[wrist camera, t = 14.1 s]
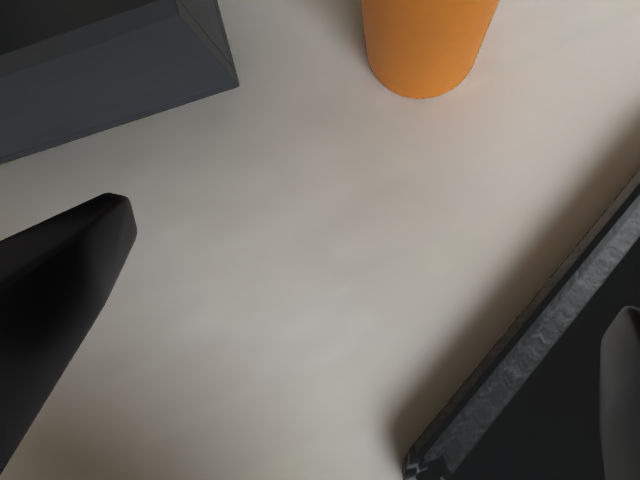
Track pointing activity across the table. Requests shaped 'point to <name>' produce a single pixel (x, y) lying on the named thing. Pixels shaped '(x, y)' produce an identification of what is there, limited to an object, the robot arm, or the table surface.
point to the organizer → (103, 65)
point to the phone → (542, 371)
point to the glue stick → (424, 42)
